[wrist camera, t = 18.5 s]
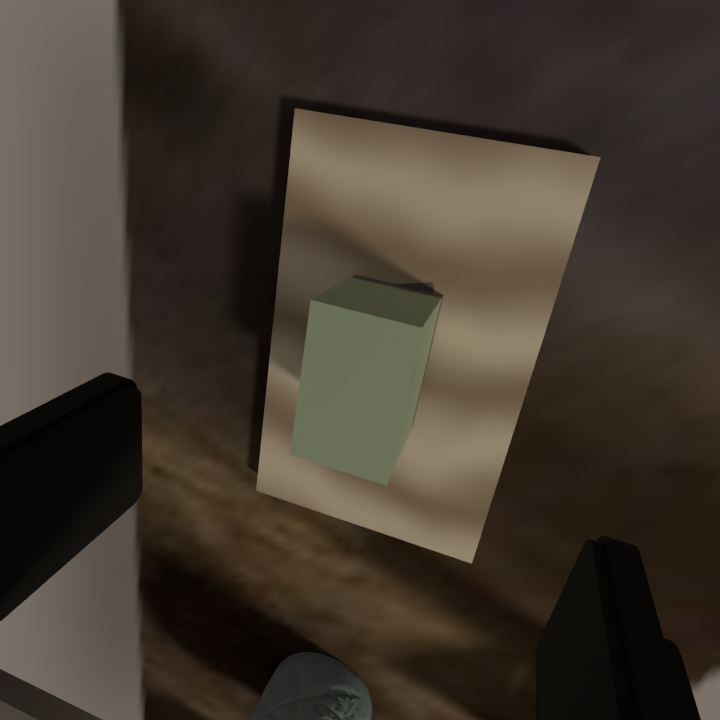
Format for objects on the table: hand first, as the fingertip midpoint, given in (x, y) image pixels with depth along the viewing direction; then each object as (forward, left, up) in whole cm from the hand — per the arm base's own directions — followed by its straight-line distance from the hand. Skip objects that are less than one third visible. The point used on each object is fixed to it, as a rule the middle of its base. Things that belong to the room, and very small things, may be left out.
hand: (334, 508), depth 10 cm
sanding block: (+4, -3, -19) cm, 19 cm away
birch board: (+4, -3, -20) cm, 21 cm away
